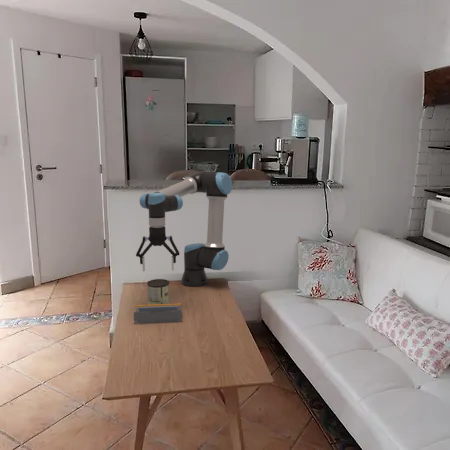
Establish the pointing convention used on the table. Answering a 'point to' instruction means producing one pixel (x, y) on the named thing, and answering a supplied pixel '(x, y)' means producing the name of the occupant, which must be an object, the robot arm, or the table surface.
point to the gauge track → (158, 316)
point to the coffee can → (158, 291)
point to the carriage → (157, 307)
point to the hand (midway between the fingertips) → (158, 270)
